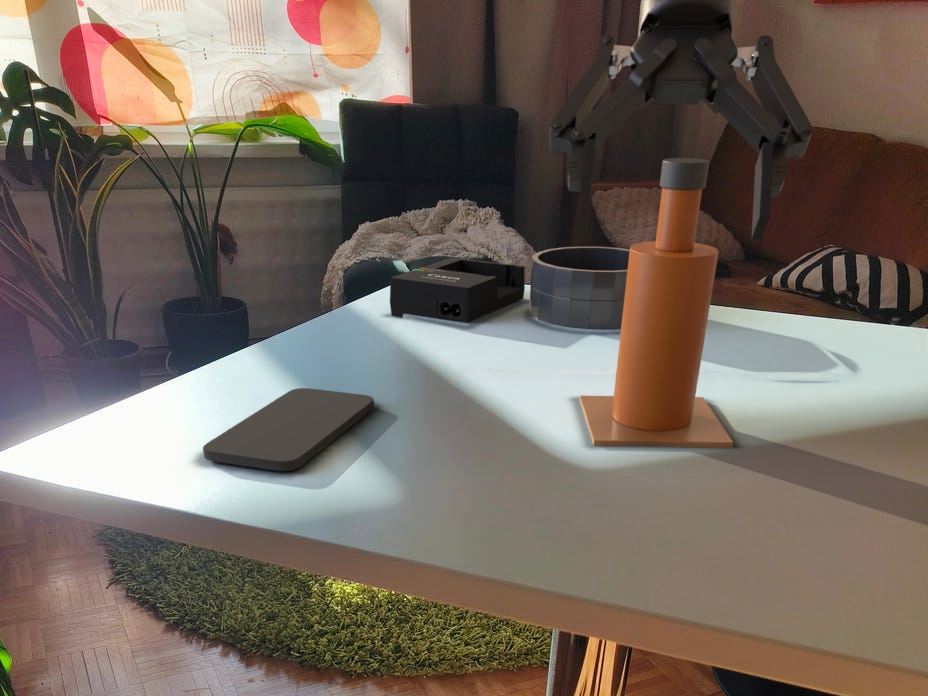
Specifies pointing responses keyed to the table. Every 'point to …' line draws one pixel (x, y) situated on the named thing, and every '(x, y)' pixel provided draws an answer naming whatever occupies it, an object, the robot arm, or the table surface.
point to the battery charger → (456, 289)
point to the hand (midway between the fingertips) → (670, 226)
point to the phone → (289, 429)
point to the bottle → (666, 309)
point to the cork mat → (613, 433)
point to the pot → (579, 286)
